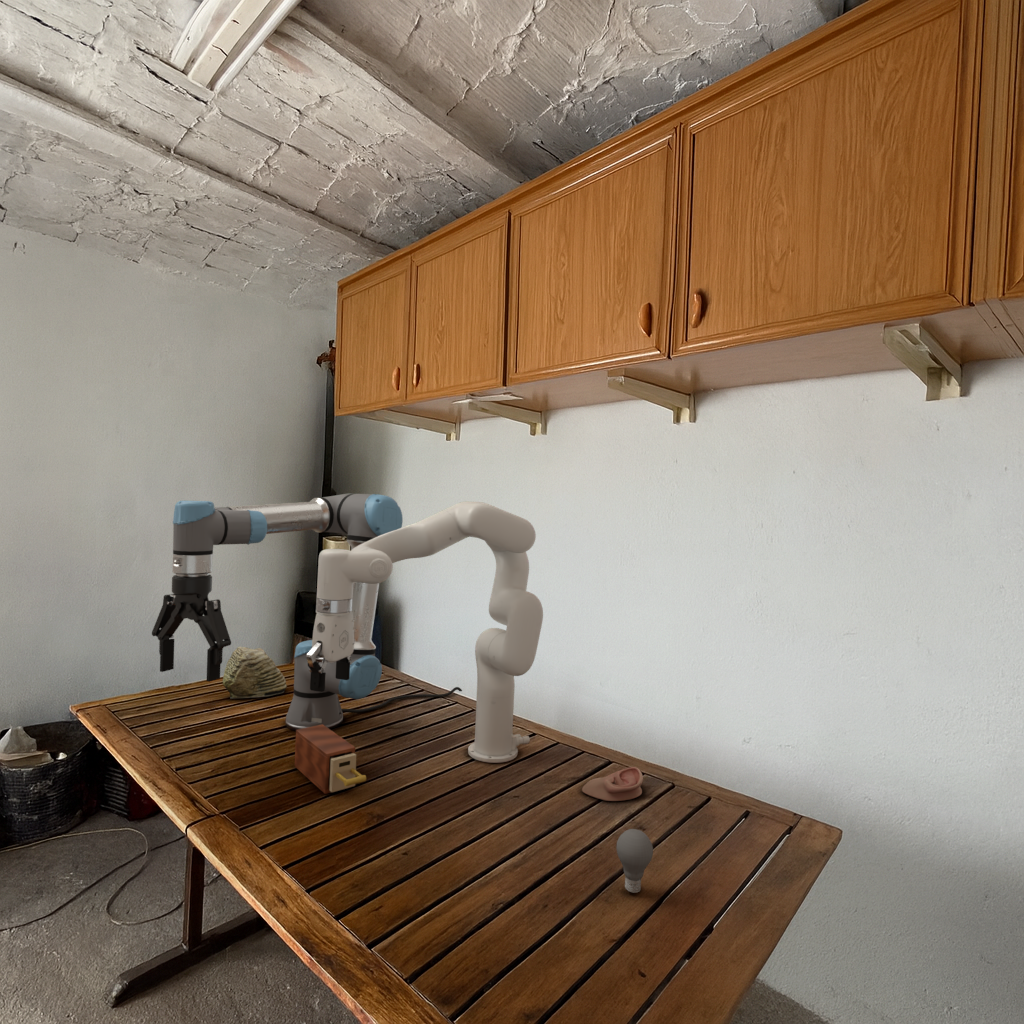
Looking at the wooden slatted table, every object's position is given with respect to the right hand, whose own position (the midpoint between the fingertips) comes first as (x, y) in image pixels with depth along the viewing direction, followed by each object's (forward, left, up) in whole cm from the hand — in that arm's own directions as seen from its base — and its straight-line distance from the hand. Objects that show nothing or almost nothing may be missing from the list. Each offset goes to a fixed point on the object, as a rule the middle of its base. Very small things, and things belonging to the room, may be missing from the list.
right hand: (330, 684), depth 137 cm
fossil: (+12, -71, -23) cm, 76 cm away
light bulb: (-42, +54, -23) cm, 72 cm away
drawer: (-2, -1, -22) cm, 22 cm away
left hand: (+28, -8, +2) cm, 29 cm away
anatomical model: (-60, +21, -23) cm, 67 cm away
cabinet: (0, -6, -23) cm, 23 cm away
